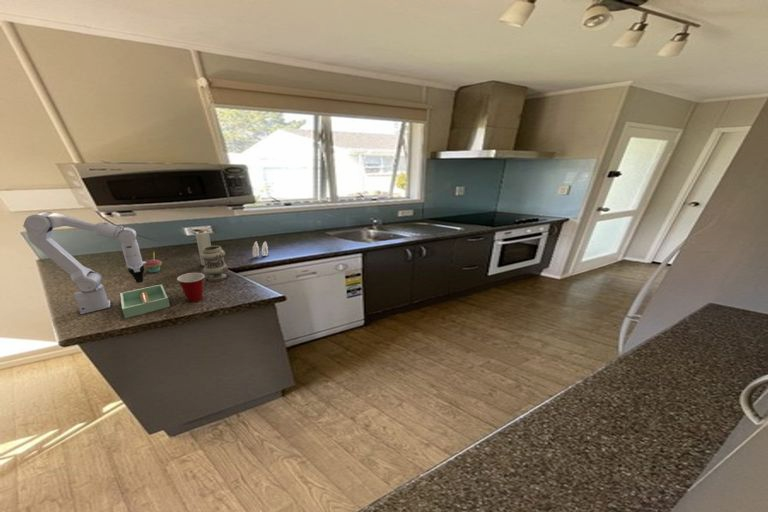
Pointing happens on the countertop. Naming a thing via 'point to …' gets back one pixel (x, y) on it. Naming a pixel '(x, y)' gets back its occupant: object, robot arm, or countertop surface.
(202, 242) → the paper towel roll
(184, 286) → the plastic cup
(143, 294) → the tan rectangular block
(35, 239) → the robot arm
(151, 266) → the cupcake
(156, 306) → the bin
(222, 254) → the apothecary jar
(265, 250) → the shaker set
